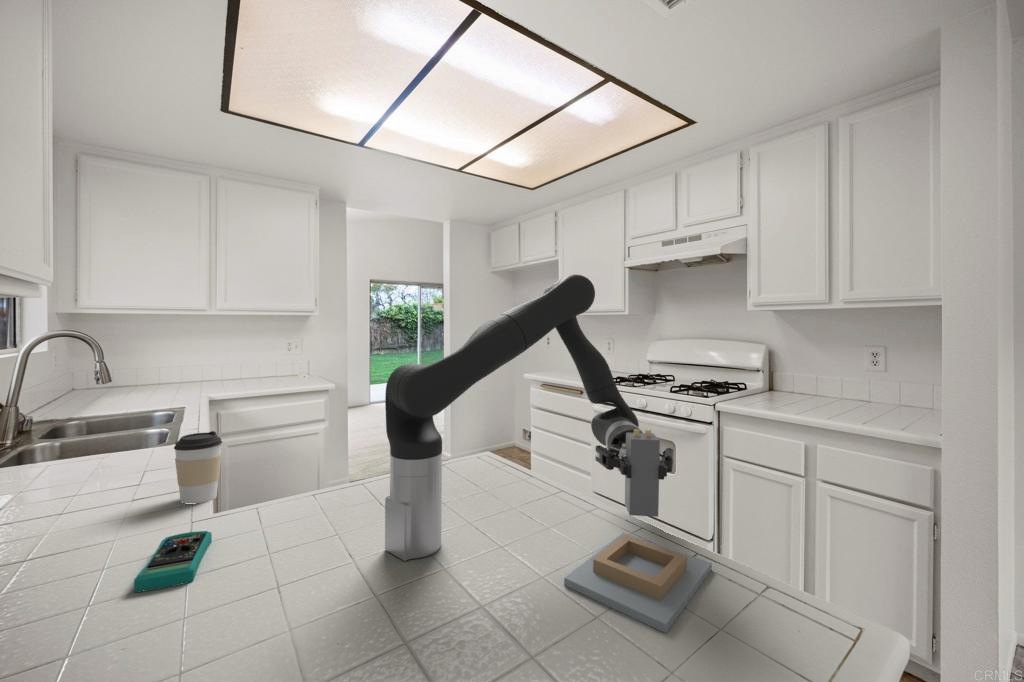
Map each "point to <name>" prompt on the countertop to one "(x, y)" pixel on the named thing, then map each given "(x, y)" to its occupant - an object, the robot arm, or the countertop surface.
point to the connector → (642, 473)
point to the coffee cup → (198, 466)
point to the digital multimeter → (174, 561)
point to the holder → (640, 580)
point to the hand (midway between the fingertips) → (645, 472)
